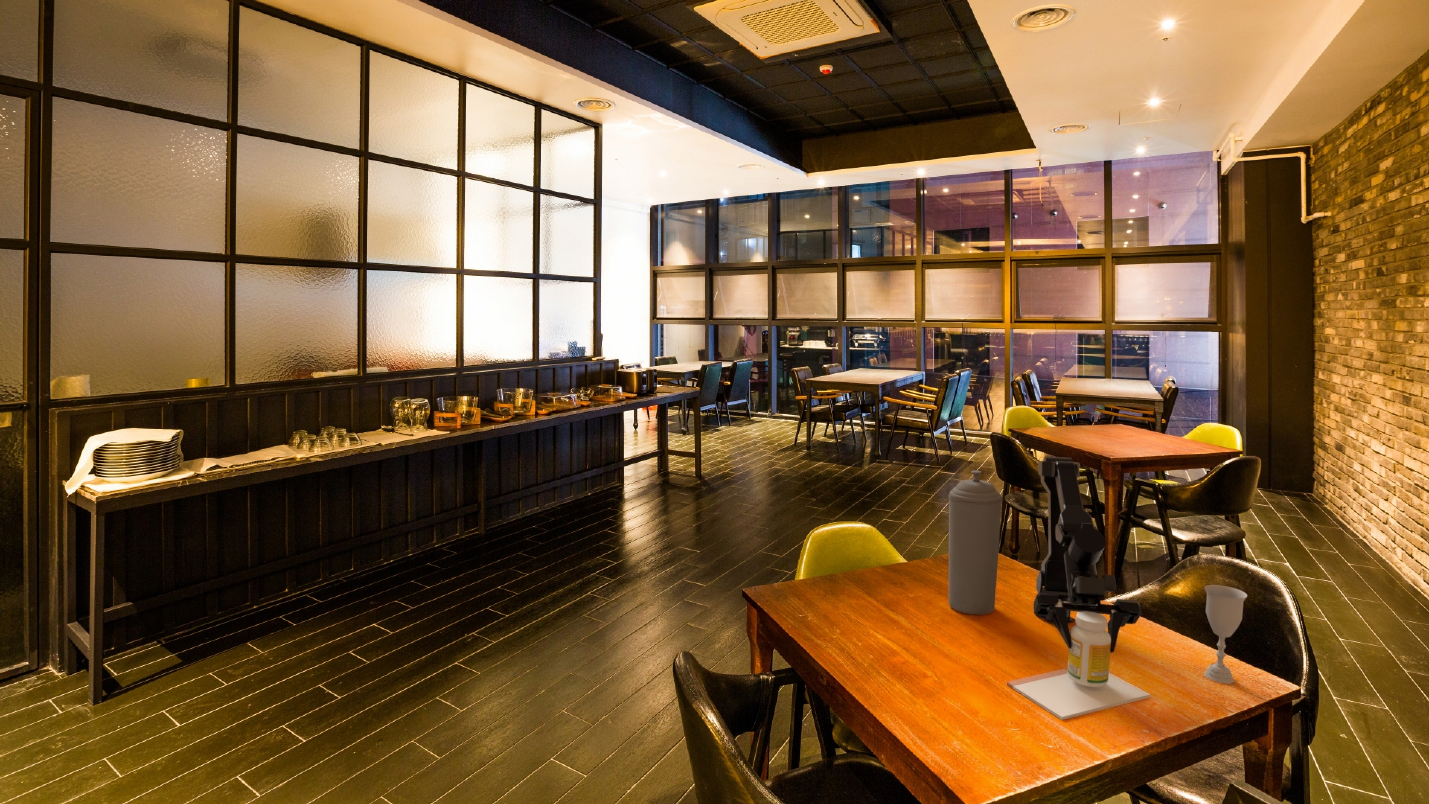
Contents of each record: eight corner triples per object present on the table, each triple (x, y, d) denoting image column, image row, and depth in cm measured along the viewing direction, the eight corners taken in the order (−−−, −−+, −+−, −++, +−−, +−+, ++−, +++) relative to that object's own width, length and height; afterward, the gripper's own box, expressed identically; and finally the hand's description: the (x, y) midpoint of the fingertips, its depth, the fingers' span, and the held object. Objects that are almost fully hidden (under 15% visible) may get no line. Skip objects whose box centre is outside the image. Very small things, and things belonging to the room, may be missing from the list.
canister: (946, 615, 177) (951, 475, 173) (943, 596, 189) (947, 464, 185) (1002, 619, 174) (1007, 477, 170) (994, 600, 186) (999, 467, 182)
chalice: (1189, 669, 149) (1195, 585, 147) (1220, 667, 149) (1227, 584, 147) (1217, 687, 142) (1223, 599, 140) (1249, 685, 142) (1256, 597, 140)
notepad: (1090, 665, 151) (1090, 662, 150) (1149, 697, 138) (1150, 694, 138) (1006, 684, 143) (1006, 681, 143) (1061, 720, 130) (1061, 716, 130)
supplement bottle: (1063, 680, 141) (1066, 617, 140) (1072, 666, 147) (1075, 606, 145) (1104, 692, 137) (1108, 627, 135) (1111, 677, 142) (1115, 615, 141)
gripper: (1038, 554, 145) (1045, 629, 136) (1142, 561, 140) (1156, 640, 131) (1030, 577, 154) (1036, 650, 144) (1128, 585, 149) (1140, 661, 140)
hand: (1091, 650), depth 140 cm, fingers closed on supplement bottle, 7 cm apart
